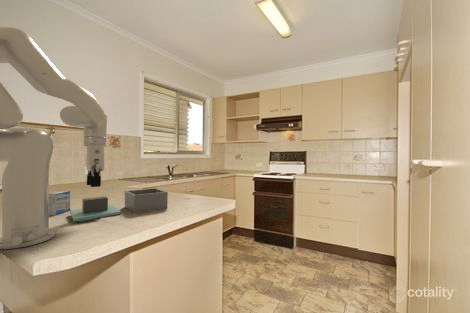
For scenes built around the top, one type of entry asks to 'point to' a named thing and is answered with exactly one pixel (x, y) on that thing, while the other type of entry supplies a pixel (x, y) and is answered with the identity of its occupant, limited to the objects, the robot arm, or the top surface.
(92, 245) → the top surface
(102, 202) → the lid
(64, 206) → the medicine box
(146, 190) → the bin
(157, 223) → the top surface
